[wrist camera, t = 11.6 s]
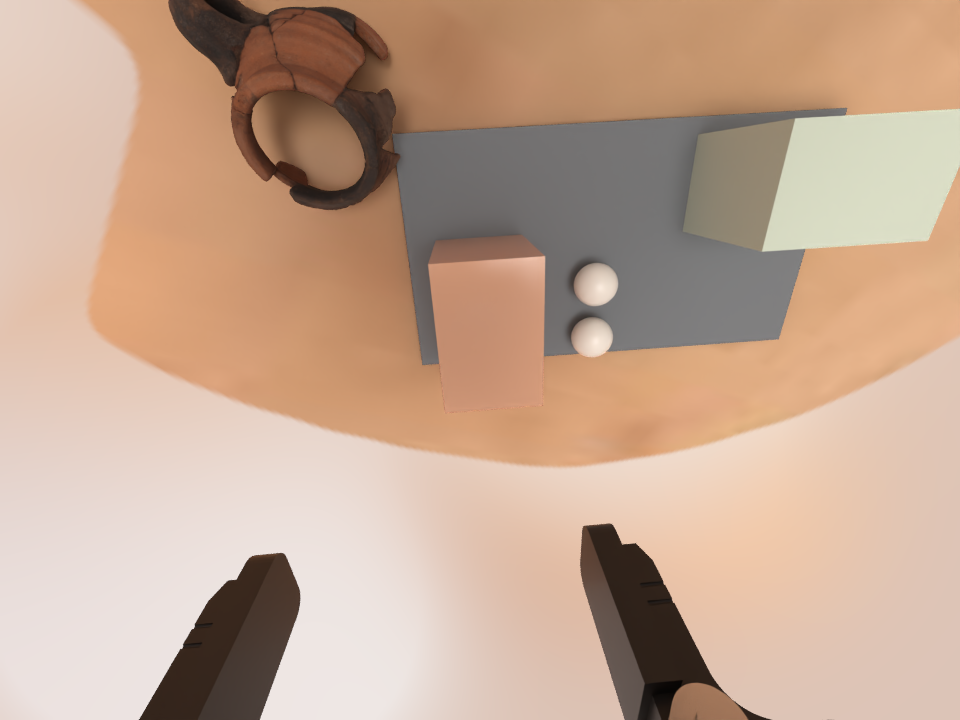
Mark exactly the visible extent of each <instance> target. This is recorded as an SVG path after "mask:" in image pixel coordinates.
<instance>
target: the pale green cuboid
mask: <svg viewBox="0 0 960 720" xmlns="http://www.w3.org/2000/svg"><path fill="white" fill-rule="evenodd" d="M959 166H960V109H949V110H932V111H915V112H897V113H880V114H863V115H846V116H828V117H811V118H795V119H789V120H783V121H777V122H771V123H765V124H758V125H752V126H746V127H740V128H734V129H728V130H722V131H716V132H710V133H704V134H698V139H697V146H696V152H695V158H694V164H693V170H692V176H691V183H690V189H689V195H688V201H687V207H686V213H685V220H684V226H683V232H686V233H690V234H694V235H698V236H702V237H706V238H710V239H714V240H718V241H722V242H726V243H730V244H734V245H737V246H741V247H745V248H749V249H753V250H757V251H761V252H765V251H780V250H795V249H810V248H825V247H840V246H855V245H870V244H885V243H900V242H915V241H928V239H929V237H930V234H931V232H932V230H933V227H934V225H935V223H936V220H937V218H938V216H939V213H940V211H941V208H942V206H943V204H944V201H945V199H946V197H947V194H948V192H949V190H950V187H951V185H952V183H953V180H954V178H955V176H956V173H957V171H958V169H959Z"/></svg>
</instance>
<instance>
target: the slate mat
mask: <svg viewBox="0 0 960 720" xmlns="http://www.w3.org/2000/svg"><path fill="white" fill-rule="evenodd" d="M846 111H847V108H837V109H820V110H802V111H785V112H767V113H750V114H732V115H715V116H697V117H680V118H662V119H645V120H628V121H610V122H593V123H575V124H558V125H540V126H523V127H505V128H488V129H470V130H453V131H435V132H418V133H400V134H392V136H393V144H394V151H395V153H398V154H400V156H401V157H400V159H399V161H398V162H397V164H396V167H397V174H398V182H399V189H400V197H401V205H402V212H403V220H404V228H405V235H406V243H407V250H408V258H409V266H410V273H411V281H412V289H413V296H414V304H415V311H416V319H417V327H418V334H419V342H420V350H421V357H422V365H429V364H439V356H438V347H437V338H436V329H435V321H434V312H433V303H432V294H431V285H430V276H429V268H428V263H429V260H430V257H431V254H432V250H433V247H434V244H435V241H436V240H448V239H463V238H478V237H493V236H508V235H523V236H524V237H525V238H526V239H527V240H528V241H529V242H530V243H531V244H533V245H534V246H535V247H536V248H537V249H538V250H539V251H540V252H541V253H542V254H543V255H544V256H545V306H544V356H554V355H567V354H580V353H578V352H577V351H576V350H575V348H574V347H573V345H572V341H571V334H572V330H573V328H574V327H575V325H576V324H577V323H578V322H579V321H581V320H583V319H585V318H588V317H596V318H600V319H602V320H604V321H605V322H606V323H607V324H608V325H609V326H610V328H611V330H612V333H613V340H612V344H611V346H610V348H609V349H608V350H607V351H606V352H609V351H623V350H637V349H650V348H664V347H678V346H692V345H706V344H720V343H734V342H747V341H761V340H775V339H779V336H780V333H781V329H782V326H783V323H784V319H785V316H786V313H787V309H788V306H789V303H790V299H791V296H792V292H793V289H794V286H795V282H796V279H797V276H798V272H799V269H800V266H801V262H802V259H803V255H804V252H805V249H795V250H780V251H765V252H761V251H757V250H753V249H749V248H745V247H741V246H737V245H734V244H730V243H726V242H722V241H718V240H714V239H710V238H706V237H702V236H698V235H694V234H690V233H686V232H683V226H684V220H685V213H686V207H687V201H688V195H689V189H690V183H691V176H692V170H693V164H694V158H695V152H696V146H697V139H698V134H704V133H710V132H716V131H722V130H728V129H734V128H740V127H746V126H752V125H758V124H765V123H771V122H777V121H783V120H789V119H795V118H811V117H828V116H845V114H846ZM591 263H603V264H606V265H608V266H609V267H611V268H612V269H613V270H614V272H615V273H616V275H617V278H618V289H617V292H616V294H615V295H614V297H613V298H612V299H611V300H610V301H609V302H607V303H606V304H603V305H600V306H589V305H586V304H584V303H583V302H581V301H580V300H579V299H578V297H577V296H576V294H575V291H574V280H575V277H576V275H577V273H578V272H579V271H580V270H581V269H582V268H583V267H585V266H586V265H588V264H591Z"/></svg>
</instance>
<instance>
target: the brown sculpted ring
mask: <svg viewBox="0 0 960 720" xmlns="http://www.w3.org/2000/svg"><path fill="white" fill-rule="evenodd" d="M168 3H169V8H170V11H171V14H172V16H173V19H174V22H175V24H176V26H177V28H178V29H179V31H180V32H181V34H182V35H183V36H184V37H185V38H186V39H187V40H188V41H189V42H190V43H191V44H192V46H194V47H195V48H196V49H197V50H198V51H199V52H201V53H202V54H204V55H205V56H206V57H207V58H209V59H210V60H211V61H212V62H213V63H214V64H215V65H216V67H217V68H218V69H219V71H220V72H221V74H222V76H223V79H224V81H225V83H226V84H227V85H228V86H235V88H236V89H237V92H236V94H235V96H232V109H231V121H232V128H233V133H234V137H235V139H236V143H237V145H238V147H239V149H240V150H241V152H242V155H243V156H244V158H245V159H246V161H247V163H248V164H249V165H250V166H251V168H252V169H253V170H254V171H255V172H256V174H258V175H259V176H260V177H261V178H262V179H263V180H264V181H268V180H269V179H270V178H271V177H272V175H274V176H275V177H277V178H278V179H279V180H280V181H282V182H283V183H285V184H286V185H288V186H290V187H292V188H291V189H290V195H291V196H292V198H293V199H294V201H295V202H297V203H299V204H301V205H305V206H308V207H312V208H319V209H325V210H337V209H342V208H346V207H348V206H349V205H354V204H356V203H359V202H361V201H362V200H363V199H364V198H365V197H366V196H367V195H369V194H370V193H371V192H373V191H374V190H375V189H377V188H378V187H379V186H380V184H381V183H382V182H383V181H384V179H385V178H386V177H387V176H388V174H389V173H390V172H391V170H392V169H393V168H394V167H395V166H396V164H397V162H398V161H399V159H400V157H401V156H400V154H398V153H395V154H393V153H391V152H388V151H386V150H384V149H383V148H382V147H383V145H384V144H385V143H386V142H387V141H388V140H389V137H390V135H391V132H392V120H393V117H394V116H395V113H396V106H395V104H394V101H393V98H392V95H391V93H390V91H389V90H388V89H386V88H385V89H383V90H381V91H380V92H379V93H378V94H376V93H373V92H361V91H357V90H351V89H348V88H347V85H348V83H349V82H350V80H351V79H352V77H353V75H354V74H355V73H356V71H357V70H358V69H359V68H360V67H361V66H362V65H363V64H364V63H365V53H364V50H363V47H362V45H361V44H360V43H359V42H358V41H356V40H355V39H354V38H353V35H354V32H355V33H357V34H358V35H359V36H360V37H361V38H362V39H363V40H364V41H365V42H366V43H367V44H368V45H369V46H370V48H371V49H372V50H373V51H374V52H375V54H376V55H377V56H378V57H379V58H380V59H381V60H385V59H386V57H387V56H388V51H387V46H386V44H385V43H384V42H383V40H382V39H381V38H380V36H379V35H378V34H377V33H376V32H375V31H374V30H373V29H372V28H371V27H370V26H369V25H367V24H366V23H365V22H364V21H362V20H361V19H359V18H358V17H356V16H355V15H353V14H351V13H349V12H347V11H344V10H341V9H338V8H334V7H315V8H305V7H288V8H281V9H276V10H274V11H272V12H270V13H269V14H268V15H264V14H260V13H258V12H255V11H253V10H251V9H249V8H247V7H245V6H244V5H243V4H242V3H240V2H239V1H238V0H169V2H168ZM279 90H292V91H299V92H303V93H306V94H309V95H312V96H314V97H316V98H318V99H320V100H322V101H324V102H325V103H327V104H328V105H330V106H332V107H335V108H336V109H337V110H338V112H339V113H340V114H341V115H342V116H343V117H344V118H345V119H346V120H347V121H348V122H349V124H350V125H351V126H352V128H353V129H354V131H355V132H356V134H357V136H358V138H359V140H360V142H361V145H362V148H363V151H364V156H365V160H366V162H365V168H364V172H363V174H362V176H361V178H360V179H359V180H358V182H357V183H356V184H354V185H353V186H351V187H349V188H347V189H343V190H339V191H323V190H320V189H317V188H314V187H312V186H310V185H308V181H307V178H306V174H305V173H304V172H303V171H302V170H301V169H299V168H297V167H295V166H293V165H291V164H288V163H286V162H283V161H279V162H278V163H277V165H276V166H275V165H274V164H273V163H272V162H271V161H270V159H269V158H268V157H267V156H266V155H265V153H264V152H263V150H262V149H261V148H260V146H259V144H258V142H257V140H256V138H255V135H254V132H253V129H252V122H251V118H252V112H253V107H254V105H255V104H256V102H257V101H258V100H259V99H260V98H261V97H262V96H264V95H266V94H268V93H270V92H274V91H279Z"/></svg>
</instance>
